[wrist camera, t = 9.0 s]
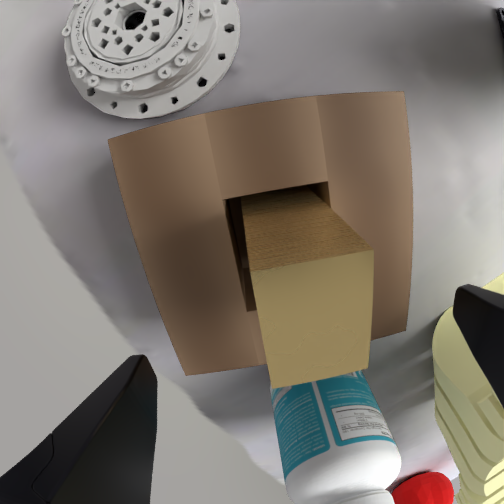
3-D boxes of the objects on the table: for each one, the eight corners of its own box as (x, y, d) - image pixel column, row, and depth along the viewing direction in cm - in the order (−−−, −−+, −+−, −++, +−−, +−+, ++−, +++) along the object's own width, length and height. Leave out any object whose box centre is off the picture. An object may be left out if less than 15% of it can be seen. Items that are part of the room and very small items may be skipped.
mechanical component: (49, 57, 14) (149, 153, 17) (10, 48, 10) (125, 163, 13) (163, -53, 12) (276, 37, 15) (148, -87, 8) (289, 13, 11)
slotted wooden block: (352, 97, 16) (403, 91, 11) (367, 279, 21) (405, 330, 15) (146, 132, 16) (107, 139, 11) (194, 313, 21) (185, 375, 16)
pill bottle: (285, 414, 26) (310, 548, 14) (254, 363, 23) (273, 531, 11) (363, 384, 25) (416, 513, 13) (347, 327, 23) (421, 484, 10)
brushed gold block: (295, 176, 16) (373, 249, 7) (303, 245, 18) (367, 368, 9) (239, 185, 16) (250, 271, 7) (251, 254, 18) (271, 388, 9)
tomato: (436, 456, 35) (458, 504, 26) (446, 469, 39) (465, 509, 30) (370, 491, 38) (386, 540, 28) (391, 499, 41) (404, 540, 32)
